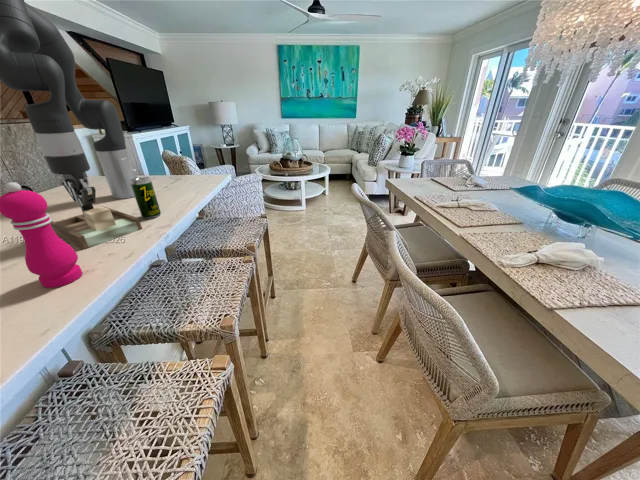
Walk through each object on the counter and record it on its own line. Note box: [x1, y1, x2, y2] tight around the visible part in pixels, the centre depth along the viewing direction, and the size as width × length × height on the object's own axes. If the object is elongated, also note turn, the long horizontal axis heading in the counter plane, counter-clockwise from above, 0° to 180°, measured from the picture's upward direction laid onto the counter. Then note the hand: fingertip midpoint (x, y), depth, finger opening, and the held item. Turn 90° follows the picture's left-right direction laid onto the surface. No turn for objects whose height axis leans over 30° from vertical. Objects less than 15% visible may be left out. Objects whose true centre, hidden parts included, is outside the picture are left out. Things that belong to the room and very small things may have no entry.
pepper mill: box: [0, 181, 83, 289], centre depth 49 cm, size 7×7×20 cm
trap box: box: [50, 205, 143, 250], centre depth 74 cm, size 14×20×3 cm
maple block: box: [81, 205, 116, 231], centre depth 70 cm, size 4×4×4 cm
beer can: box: [131, 176, 162, 220], centre depth 82 cm, size 5×5×12 cm
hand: (91, 217), depth 73 cm, fingers closed
